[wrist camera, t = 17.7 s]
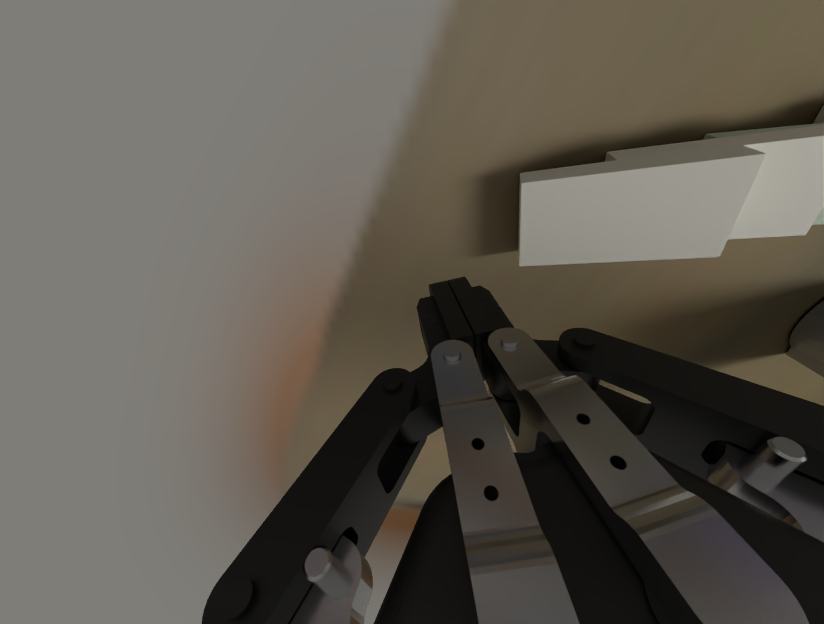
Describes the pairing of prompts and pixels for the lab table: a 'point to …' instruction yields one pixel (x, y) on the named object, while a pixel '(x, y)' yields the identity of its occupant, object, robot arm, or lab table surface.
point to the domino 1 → (635, 207)
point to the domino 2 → (768, 179)
